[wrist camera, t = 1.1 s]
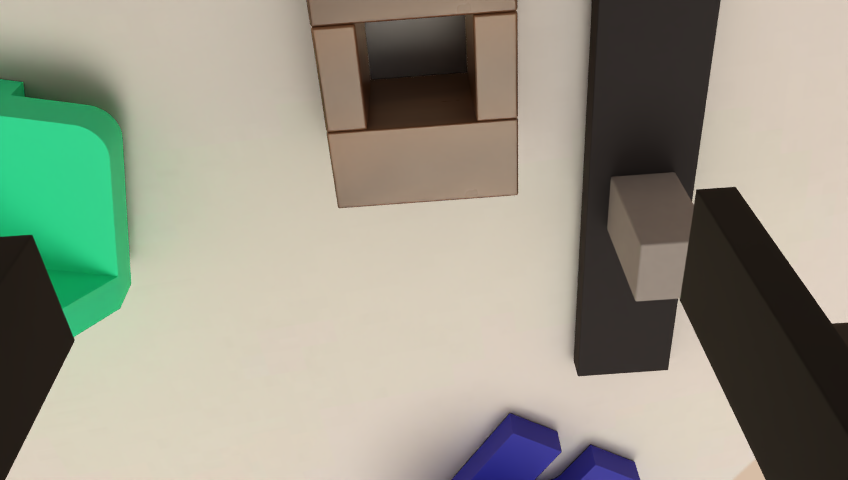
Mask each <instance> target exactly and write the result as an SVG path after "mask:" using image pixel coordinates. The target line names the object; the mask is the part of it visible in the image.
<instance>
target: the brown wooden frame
mask: <svg viewBox="0 0 848 480" xmlns="http://www.w3.org/2000/svg"><path fill="white" fill-rule="evenodd" d="M307 7H308V13H309V20H310V25H311V26H312V28H311V33H312V40H313V46H314V53H315V59H316V66H317V72H318V79H319V85H320V92H321V98H322V105H323V111H324V118H325V124H326V130H327V138H328V145H329V151H330V158H331V165H332V171H333V178H334V184H335V191H336V197H337V204H338V207H339V208H347V207H361V206H375V205H388V204H402V203H415V202H429V201H442V200H456V199H469V198H483V197H497V196H510V195H517V194H518V119H517V116H518V29H517V11H516V10H517V0H307ZM457 15H465V31H466V55H467V72H466V73H453V74H440V75H427V76H414V77H401V78H388V79H375V80H371V75H370V66H369V57H368V49H367V40H366V31H365V23H366V22H379V21H392V20H405V19H418V18H431V17H444V16H457Z"/></svg>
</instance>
